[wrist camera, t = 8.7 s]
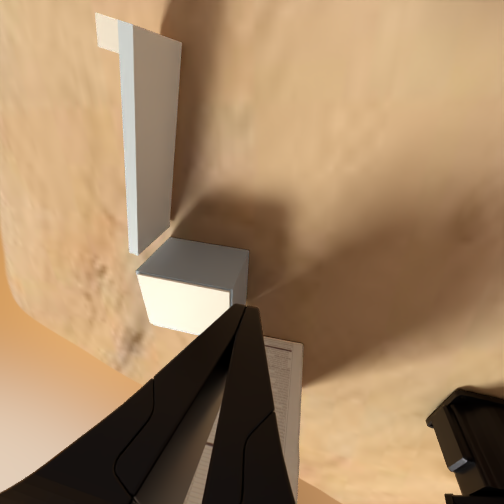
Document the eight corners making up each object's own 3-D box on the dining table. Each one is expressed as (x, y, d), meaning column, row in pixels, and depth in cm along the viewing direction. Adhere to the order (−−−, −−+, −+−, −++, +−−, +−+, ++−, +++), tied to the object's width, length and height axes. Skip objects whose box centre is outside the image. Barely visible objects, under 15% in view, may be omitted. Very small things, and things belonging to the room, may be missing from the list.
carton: (249, 250, 18) (231, 291, 15) (246, 303, 22) (231, 348, 18) (170, 237, 19) (134, 272, 16) (178, 289, 23) (150, 329, 19)
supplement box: (214, 374, 29) (125, 621, 16) (209, 323, 24) (70, 623, 11) (294, 393, 28) (272, 686, 14) (306, 342, 23) (291, 725, 9)
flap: (154, 33, 12) (94, 11, 9) (182, 42, 12) (132, 24, 9) (151, 220, 19) (115, 247, 15) (169, 226, 19) (137, 255, 15)
